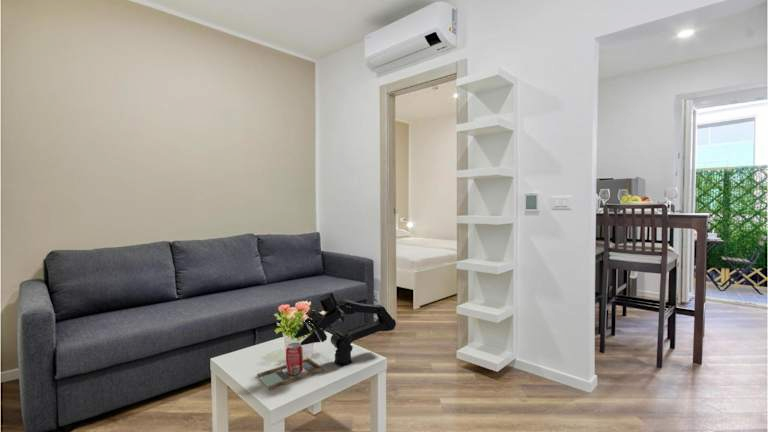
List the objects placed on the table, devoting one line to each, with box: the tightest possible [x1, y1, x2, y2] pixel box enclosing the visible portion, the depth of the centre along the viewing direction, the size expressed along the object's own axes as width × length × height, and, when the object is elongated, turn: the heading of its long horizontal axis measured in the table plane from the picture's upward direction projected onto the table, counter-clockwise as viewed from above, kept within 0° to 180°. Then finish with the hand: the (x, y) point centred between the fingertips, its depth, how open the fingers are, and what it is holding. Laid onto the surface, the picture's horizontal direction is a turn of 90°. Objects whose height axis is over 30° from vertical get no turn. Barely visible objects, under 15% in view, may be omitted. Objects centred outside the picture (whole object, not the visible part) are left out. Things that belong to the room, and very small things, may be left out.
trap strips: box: [274, 362, 317, 380], centre depth 159 cm, size 16×10×1 cm, turn 129°
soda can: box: [285, 342, 304, 376], centre depth 158 cm, size 7×7×12 cm
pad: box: [258, 372, 284, 388], centre depth 152 cm, size 7×10×1 cm
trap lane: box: [256, 357, 324, 390], centre depth 157 cm, size 24×14×1 cm, turn 129°
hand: (297, 340), depth 156 cm, fingers open, 9 cm apart
